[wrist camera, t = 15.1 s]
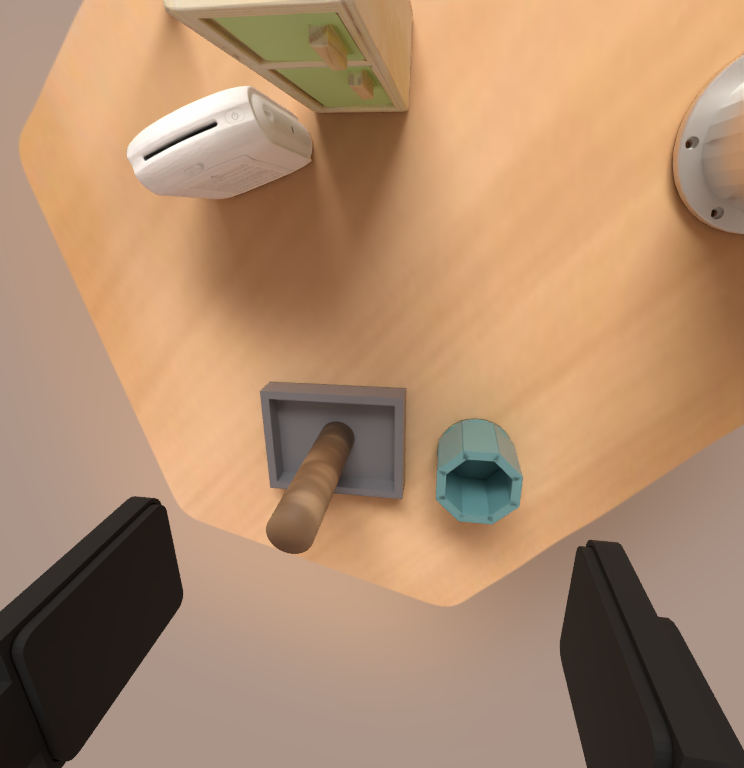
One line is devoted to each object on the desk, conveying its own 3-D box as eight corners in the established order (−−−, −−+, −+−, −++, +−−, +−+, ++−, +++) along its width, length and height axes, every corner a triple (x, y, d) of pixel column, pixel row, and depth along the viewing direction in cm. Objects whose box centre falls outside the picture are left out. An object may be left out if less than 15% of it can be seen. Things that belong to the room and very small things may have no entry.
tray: (406, 388, 44) (403, 398, 42) (404, 484, 48) (402, 499, 46) (270, 381, 46) (260, 390, 44) (279, 474, 50) (270, 487, 48)
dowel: (354, 422, 46) (311, 515, 32) (355, 453, 47) (315, 556, 33) (319, 420, 46) (263, 511, 33) (321, 451, 48) (268, 551, 34)
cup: (516, 420, 44) (526, 454, 38) (509, 486, 46) (517, 527, 40) (439, 416, 45) (436, 447, 39) (436, 480, 47) (433, 519, 41)
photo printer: (303, 108, 37) (237, 62, 26) (321, 163, 38) (266, 142, 27) (199, 156, 40) (97, 133, 28) (219, 205, 41) (129, 203, 30)
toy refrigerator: (312, 124, 37) (162, 30, 18) (309, 16, 35) (131, -230, 15) (408, 124, 36) (357, 22, 17) (413, 11, 34) (359, -261, 14)
